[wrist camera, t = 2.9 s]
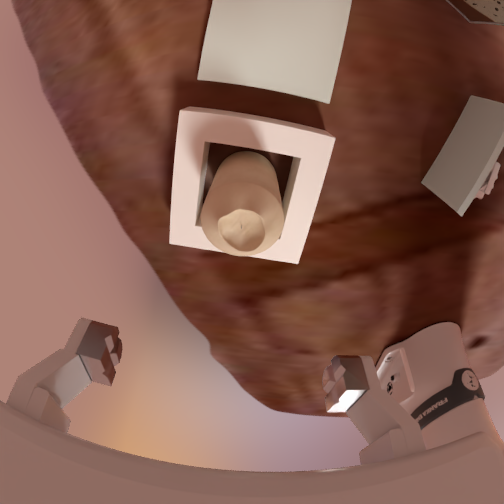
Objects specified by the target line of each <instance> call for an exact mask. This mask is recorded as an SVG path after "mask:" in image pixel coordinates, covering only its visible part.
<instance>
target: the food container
mask: <svg viewBox="0 0 504 504" xmlns="http://www.w3.org/2000/svg"><path fill="white" fill-rule="evenodd" d="M446 1H447V2H448V3H449V4H450V5H451V6H452V7H453V8H455V9H456V10H457V11H458V12H459V13H460V14H461V15H462V16H463V17H464V18H465V19H466V20H467V21H468V22H469V23H479V24H494V25H504V0H446Z"/></svg>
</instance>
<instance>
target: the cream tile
mask: <svg viewBox="0 0 504 504" xmlns="http://www.w3.org/2000/svg"><path fill="white" fill-rule="evenodd" d="M351 3H352V0H213V3H212V7H211V11H210V16H209V20H208V25H207V30H206V35H205V40H204V45H203V50H202V55H201V61H200V66H199V72H198V78H197V80H206V81H215V82H223V83H231V84H238V85H245V86H251V87H257V88H263V89H268V90H273V91H278V92H283V93H288V94H292V95H297V96H301V97H305V98H309V99H313V100H317V101H321V102H325V103H328V104H329V103H330V99H331V95H332V91H333V87H334V82H335V78H336V74H337V69H338V65H339V60H340V56H341V51H342V47H343V42H344V37H345V33H346V28H347V23H348V18H349V13H350V8H351Z"/></svg>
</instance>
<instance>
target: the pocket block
mask: <svg viewBox="0 0 504 504" xmlns="http://www.w3.org/2000/svg"><path fill="white" fill-rule="evenodd" d="M210 142H213V143H221V144H227V145H234V146H240V147H246V148H252V149H258V150H263V151H269V152H274V153H279V154H284V155H289V156H294V157H293V161H292V165H291V169H290V173H289V177H288V181H287V185H286V190H285V194H284V198H283V202H282V207H283V212H284V227H283V230H282V233H281V235H280V237H279V238H278V240H277V241H276V242H275V243H274V244H273V245H272V246H271V247H270V248H268V249H267V250H265V251H263V252H261V253H258V254H255V255H251V257H257V258H263V259H270V260H276V261H282V262H289V263H295V264H298V262H299V259H300V256H301V253H302V250H303V247H304V244H305V241H306V237H307V234H308V231H309V228H310V225H311V221H312V218H313V215H314V212H315V208H316V205H317V202H318V198H319V195H320V192H321V188H322V185H323V181H324V178H325V174H326V171H327V167H328V164H329V160H330V157H331V153H332V149H333V146H334V142H335V137H334V136H332V135H331V134H330V133H328V132H327V131H326V130H322V129H318V128H314V127H310V126H306V125H301V124H297V123H292V122H288V121H283V120H278V119H273V118H268V117H263V116H257V115H251V114H245V113H239V112H232V111H225V110H218V109H210V108H201V107H192V106H189V107H187V108H184V109H182V110H180V112H179V120H178V129H177V138H176V147H175V158H174V170H173V183H172V198H171V217H170V244H175V245H181V246H188V247H194V248H200V249H206V250H213V251H219V252H223V251H221V250H219V249H218V248H216V247H215V246H214V245H213V244H212V243H211V242H210V241H209V240H208V239H207V237H206V236H205V234H204V232H203V230H202V226H201V210H202V202H203V194H204V185H205V177H206V169H207V161H208V154H209V147H210Z"/></svg>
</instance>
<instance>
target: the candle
mask: <svg viewBox="0 0 504 504" xmlns="http://www.w3.org/2000/svg"><path fill="white" fill-rule="evenodd" d="M201 226H202V230H203V232H204V234H205V236H206V237H207V239H208V240H209V241H210V242H211V243H212V244H213V245H214V246H215V247H216V248H218V249H219V250H221V251H223V252H225V253H228V254H231V255H236V256H251V255H255V254H258V253H261V252H263V251H265V250H267V249H268V248H270V247H271V246H272V245H273V244H274V243H275V242H276V241H277V240H278V238H279V237H280V235H281V233H282V230H283V227H284V212H283V207H282V201H281V196H280V191H279V186H278V181H277V176H276V172H275V170H274V167H273V166H272V164H271V163H270V161H269V160H268V159H266V158H265V157H264V156H262V155H261V154H259V153H256V152H252V151H240V152H236V153H234V154H232V155H230V156H228V157H227V158H226V159H225V160H224V161H223V162H222V163H221V165H220V166H219V168H218V170H217V172H216V175H215V177H214V180H213V182H212V184H211V187H210V189H209V192H208V194H207V197H206V199H205V202H204V204H203V207H202V210H201Z"/></svg>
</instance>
